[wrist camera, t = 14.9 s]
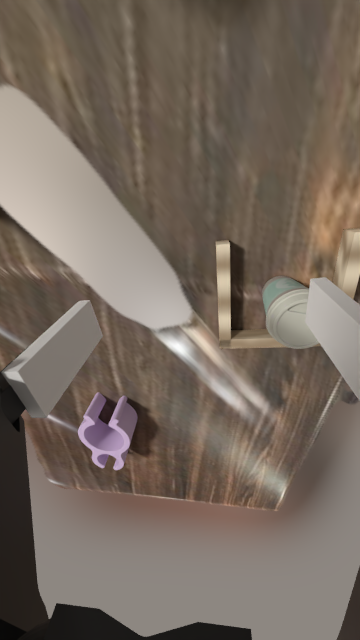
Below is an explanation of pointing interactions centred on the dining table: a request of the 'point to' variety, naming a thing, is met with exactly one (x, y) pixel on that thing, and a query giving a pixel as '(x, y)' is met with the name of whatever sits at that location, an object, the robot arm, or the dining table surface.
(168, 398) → the dining table surface
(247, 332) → the u rest
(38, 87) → the dining table surface
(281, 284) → the coffee cup
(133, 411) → the clip
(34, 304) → the dining table surface
